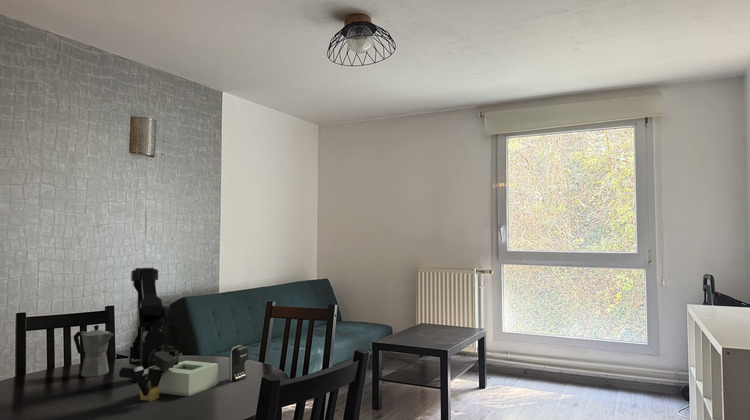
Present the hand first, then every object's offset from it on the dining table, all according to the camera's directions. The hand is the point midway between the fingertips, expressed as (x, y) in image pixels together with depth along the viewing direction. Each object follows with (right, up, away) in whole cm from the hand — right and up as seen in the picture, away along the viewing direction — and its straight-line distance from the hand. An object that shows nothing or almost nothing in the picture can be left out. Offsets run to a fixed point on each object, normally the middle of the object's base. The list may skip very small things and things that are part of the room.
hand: (149, 394), depth 156 cm
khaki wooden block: (0, -2, 0) cm, 2 cm away
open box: (+7, -2, +11) cm, 13 cm away
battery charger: (+22, -3, +21) cm, 31 cm away
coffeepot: (-35, -4, +31) cm, 47 cm away
